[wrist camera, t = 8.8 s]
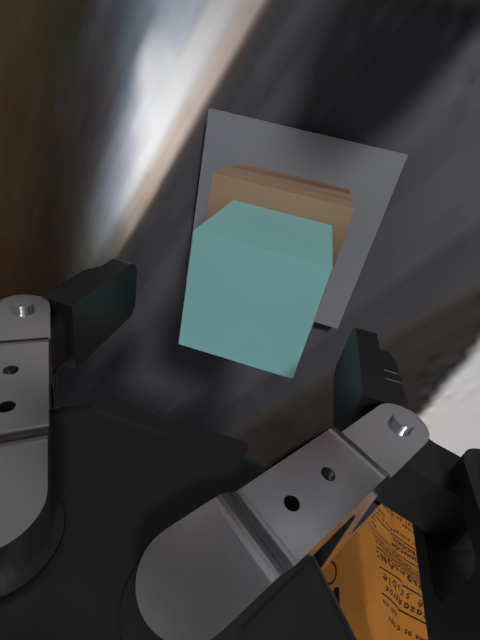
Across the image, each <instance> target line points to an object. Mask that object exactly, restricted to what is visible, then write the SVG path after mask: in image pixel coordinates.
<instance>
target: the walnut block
mask: <svg viewBox="0 0 480 640" xmlns="http://www.w3.org/2000/svg"><path fill="white" fill-rule="evenodd" d="M233 200H236V201H240V202H244V203H248V204H252V205H255V206H259V207H263V208H267V209H271V210H275V211H278V212H282V213H286V214H290V215H294V216H298V217H301V218H305V219H309V220H313V221H317V222H321V223H325V224H328V225H332V248H333V268H334V265H335V263H336V260H337V257H338V254H339V252H340V249H341V246H342V243H343V240H344V238H345V235H346V232H347V229H348V227H349V224H350V221H351V218H352V216H353V213H354V210H355V207H354V204H353V200H352V197H351V193H350V190H349V189H346V188H342V187H338V186H334V185H330V184H326V183H322V182H318V181H314V180H310V179H306V178H302V177H298V176H294V175H290V174H286V173H282V172H278V171H274V170H270V169H266V168H262V167H258V166H254V165H250V164H246V163H241V162H239V163H237V164H234V165H232V166H229V167H227V168H224V169H222V170H219V171H216V172H214V173H213V177H212V184H211V190H210V197H209V204H208V211H207V217H206V220H208V219H209V218H210V217H212V216H213V215H214V214H216V213H217V212H218V211H220V210H221V209H222V208H224V207H225V206H226V205H228V204H229V203H230V202H232V201H233ZM333 268H332V271H333ZM332 271H331V274H332ZM331 274H330V277H331ZM330 277H329V279H330ZM328 282H329V280H328ZM328 282H327V285H328ZM327 285H326V288H327ZM326 288H325V290H326ZM324 293H325V291H324ZM324 293H323V296H324ZM323 296H322V299H323ZM322 299H321V302H322ZM321 302H320V304H321ZM320 304H319V307H320ZM319 307H318V310H319ZM318 310H317V313H318ZM317 313H316V315H317ZM315 318H316V316H315ZM315 318H314V321H315ZM314 321H313V324H314ZM313 324H312V327H313ZM312 327H311V329H312ZM311 329H310V332H311Z"/></svg>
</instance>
